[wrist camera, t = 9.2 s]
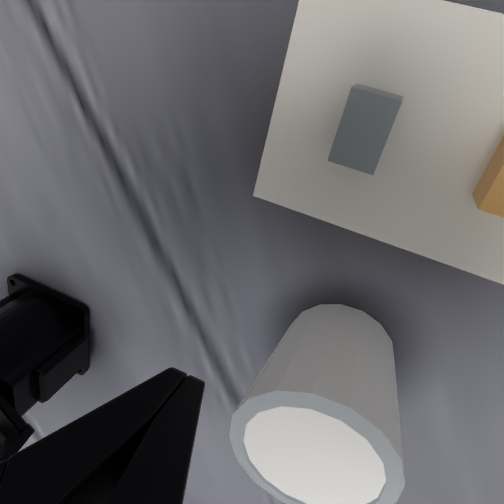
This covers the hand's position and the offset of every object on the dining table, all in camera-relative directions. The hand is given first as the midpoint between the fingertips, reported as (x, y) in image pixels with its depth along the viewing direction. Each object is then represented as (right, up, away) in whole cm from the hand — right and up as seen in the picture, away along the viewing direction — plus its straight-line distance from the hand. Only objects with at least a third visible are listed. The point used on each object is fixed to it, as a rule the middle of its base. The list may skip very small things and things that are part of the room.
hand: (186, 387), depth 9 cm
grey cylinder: (+6, -2, +12) cm, 14 cm away
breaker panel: (+8, +7, +6) cm, 13 cm away
